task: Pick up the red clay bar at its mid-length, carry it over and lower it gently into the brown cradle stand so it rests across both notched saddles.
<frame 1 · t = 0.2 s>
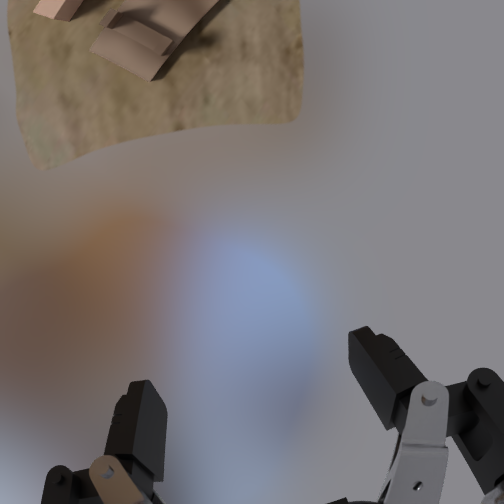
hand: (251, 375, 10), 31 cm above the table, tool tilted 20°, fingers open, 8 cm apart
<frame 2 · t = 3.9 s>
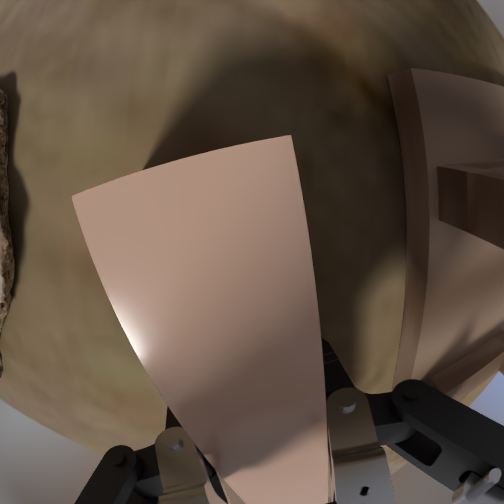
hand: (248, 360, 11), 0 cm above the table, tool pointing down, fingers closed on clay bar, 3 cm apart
clay bar: (248, 355, 11), on the table, touching gripper
brown cradle stand: (465, 279, 12), on the table
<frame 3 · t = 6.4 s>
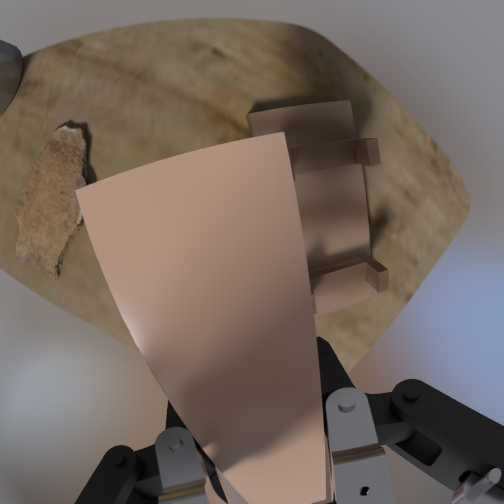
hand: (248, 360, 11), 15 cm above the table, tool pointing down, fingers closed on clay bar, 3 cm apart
clay bar: (246, 350, 12), point 15 cm above the table, touching gripper
pottery shard: (56, 202, 22), on the table
brown cradle stand: (317, 214, 26), on the table
when the fingers open (4 cm above the table, at t = 9.0 s): clay bar stays where it is, resting on brown cradle stand.
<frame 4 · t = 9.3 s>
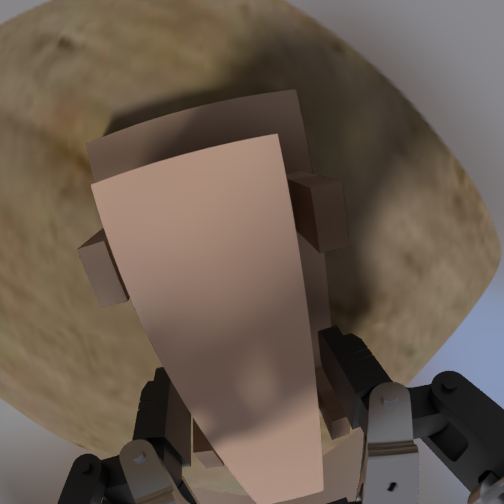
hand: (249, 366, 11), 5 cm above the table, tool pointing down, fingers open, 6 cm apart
clay bar: (245, 341, 12), point 3 cm above the table, touching brown cradle stand
brown cradle stand: (238, 309, 15), on the table
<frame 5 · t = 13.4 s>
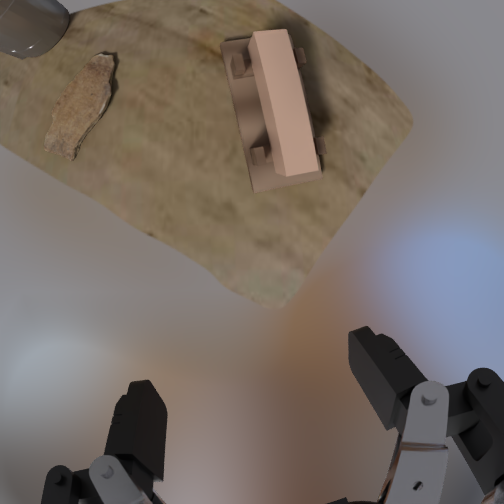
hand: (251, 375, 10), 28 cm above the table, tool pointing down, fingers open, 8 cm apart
clay bar: (276, 105, 30), point 3 cm above the table, touching brown cradle stand
pottery shard: (84, 105, 29), on the table
brown cradle stand: (271, 109, 33), on the table
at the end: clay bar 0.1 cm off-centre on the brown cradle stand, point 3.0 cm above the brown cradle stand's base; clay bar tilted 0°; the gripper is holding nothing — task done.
